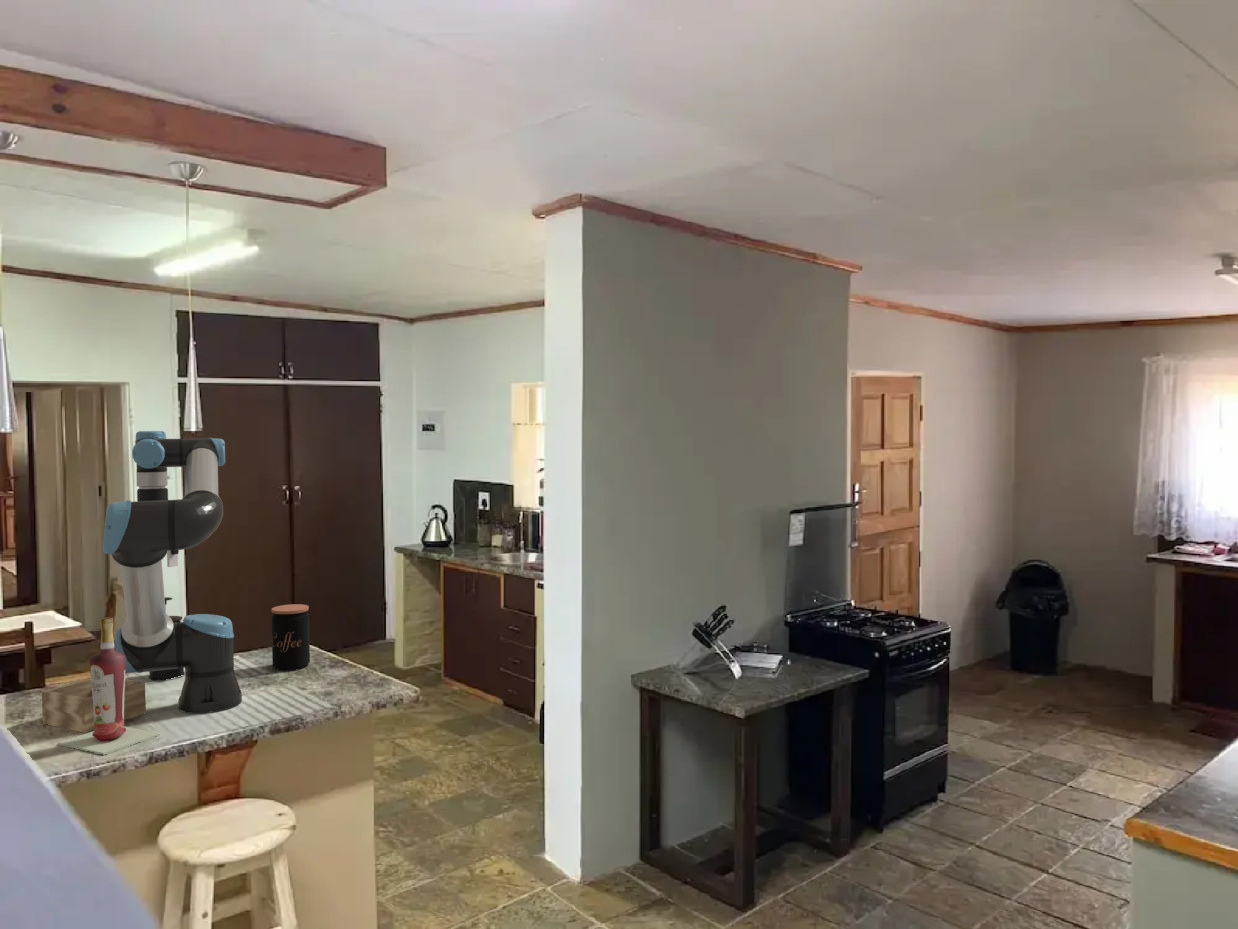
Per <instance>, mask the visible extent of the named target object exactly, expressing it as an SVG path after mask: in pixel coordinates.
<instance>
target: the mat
mask: <svg viewBox="0 0 1238 929" xmlns="http://www.w3.org/2000/svg"><path fill="white" fill-rule="evenodd" d="M124 727H125V728H126V731H125V732H124V734H123V735H122V736H121V737H120V738H118V739H115V740H111V741H99V740H98V739H96V738H95V737H94V736H93V735H92V734H93V733H94V731H95V730H93V731H90V732H87V733H84V734H81V735H77V736H75V737H71V738H69V739H65V740H61V741H59V742H57V746H61V747H65V748H70V749H74V748H75V749H74V750H78V749H81V750H80V751H83V750H85V751H84V752H87V751H90V752H89V753H91V752H94V753H93V754H97V755H100V754H103V755H102V756H106V755H105V754H107V755H109V754H112V753H115V752H117V751H116V750H118V751H120V750H119V749H121V750H123V749H122V748H124V749H126V748H129V747H131V746H130V745H132V746H134V745H133V744H135V743H138V742H141V743H143V741H144V742H146V741H149V740H151V739H150V738H152V737H155V736H158V737H161V733H160V732H159V733H158V732H155V731H154V732H153V731H149V730H144V729H138V728H135V727H129V726H125V725H124ZM155 738H156V737H155ZM148 739H149V740H148ZM152 739H153V738H152ZM138 744H139V743H138ZM135 745H136V744H135ZM114 751H115V752H114Z"/></svg>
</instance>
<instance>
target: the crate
mask: <svg viewBox="0 0 1238 929" xmlns="http://www.w3.org/2000/svg"><path fill="white" fill-rule="evenodd" d="M146 698H147V697H146V682H145V681H140V680H133V679H128V678H125V691H124V721H126V720H125V719H127V720H129V719H128V718H130V719H133V718H136V717H139V716H138V715H140V716H142V715H141V714H143V715H145V714H144V713H147V707H146V706H147V702H146V701H147V700H146ZM41 702H42V703H41V707H42V708H41V710H42V725H46V724H48V725H47V726H52V727H57V728H61V729H66V730H70V731H71V730H72V731H75V732H80V733H84V734H86V733H89V731H90V732H92V730H93V731H95V729H94V711H93V697H92V687H91V678H86V679H84V680H79V681H77V682H73V683H69V684H66V685H60V686H58V687H57V686H56V687H53V688H49V689H46V690H42V691H41Z"/></svg>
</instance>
